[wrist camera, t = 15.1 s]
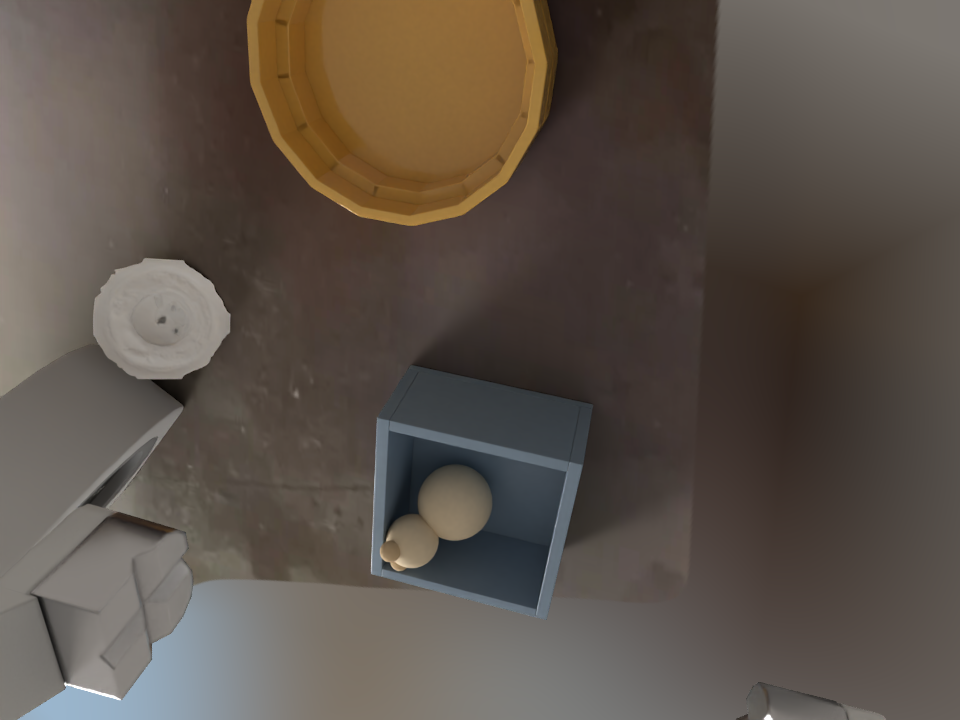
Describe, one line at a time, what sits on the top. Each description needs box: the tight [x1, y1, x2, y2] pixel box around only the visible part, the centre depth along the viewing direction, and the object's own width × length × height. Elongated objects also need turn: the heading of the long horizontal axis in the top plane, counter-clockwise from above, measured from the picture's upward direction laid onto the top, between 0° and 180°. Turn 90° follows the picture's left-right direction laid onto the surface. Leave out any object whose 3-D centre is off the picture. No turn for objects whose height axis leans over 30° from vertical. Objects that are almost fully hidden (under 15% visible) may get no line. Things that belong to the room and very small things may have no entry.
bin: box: [371, 365, 593, 620], centre depth 48 cm, size 13×14×7 cm
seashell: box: [93, 258, 231, 379], centre depth 48 cm, size 8×5×8 cm
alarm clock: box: [0, 345, 183, 578], centre depth 49 cm, size 21×8×20 cm, turn 140°
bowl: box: [247, 0, 558, 226], centre depth 36 cm, size 15×15×4 cm
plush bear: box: [380, 464, 492, 571], centre depth 49 cm, size 5×5×9 cm
